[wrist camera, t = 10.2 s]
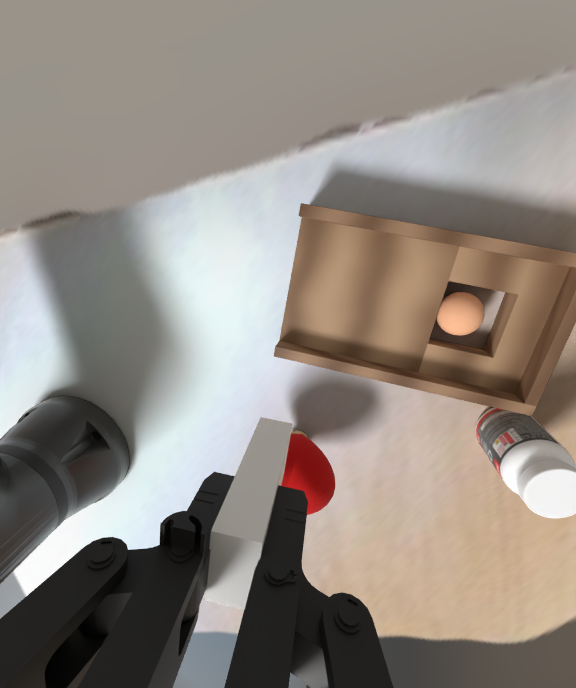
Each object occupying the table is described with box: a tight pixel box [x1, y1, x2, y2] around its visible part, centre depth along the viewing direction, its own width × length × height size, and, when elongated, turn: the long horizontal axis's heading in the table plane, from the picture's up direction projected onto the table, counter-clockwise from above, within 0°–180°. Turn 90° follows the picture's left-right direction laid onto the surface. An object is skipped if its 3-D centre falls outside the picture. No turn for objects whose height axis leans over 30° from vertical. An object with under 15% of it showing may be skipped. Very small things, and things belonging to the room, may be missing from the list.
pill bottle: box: [475, 408, 576, 518], centre depth 31 cm, size 6×6×10 cm
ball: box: [436, 292, 484, 335], centre depth 32 cm, size 4×4×4 cm
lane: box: [274, 203, 576, 416], centre depth 32 cm, size 24×14×4 cm, turn 79°
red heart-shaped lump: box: [281, 431, 335, 515], centre depth 36 cm, size 9×7×10 cm
